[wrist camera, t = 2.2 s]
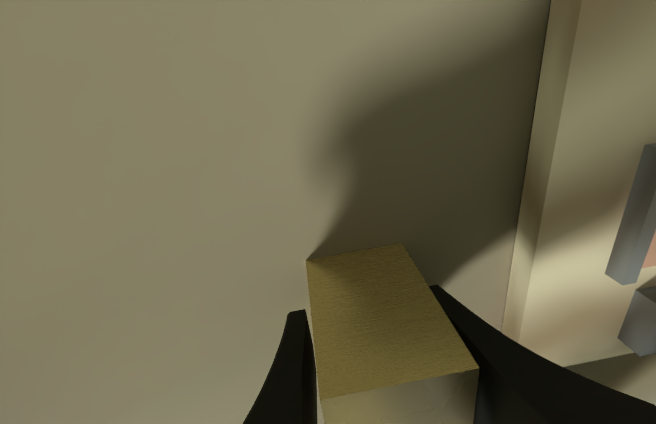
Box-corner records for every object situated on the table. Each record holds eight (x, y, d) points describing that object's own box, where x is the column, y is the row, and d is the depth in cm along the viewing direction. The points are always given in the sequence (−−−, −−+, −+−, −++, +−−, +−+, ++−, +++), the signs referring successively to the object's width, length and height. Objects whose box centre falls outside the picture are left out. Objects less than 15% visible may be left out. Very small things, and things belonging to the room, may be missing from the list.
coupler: (404, 321, 15) (468, 464, 10) (320, 337, 15) (340, 492, 10) (401, 242, 13) (479, 367, 8) (305, 259, 13) (319, 400, 8)
